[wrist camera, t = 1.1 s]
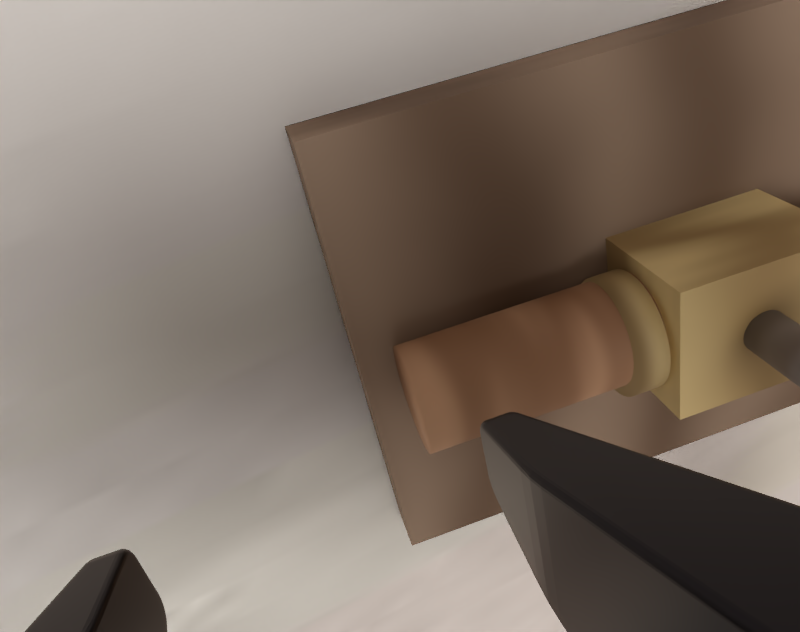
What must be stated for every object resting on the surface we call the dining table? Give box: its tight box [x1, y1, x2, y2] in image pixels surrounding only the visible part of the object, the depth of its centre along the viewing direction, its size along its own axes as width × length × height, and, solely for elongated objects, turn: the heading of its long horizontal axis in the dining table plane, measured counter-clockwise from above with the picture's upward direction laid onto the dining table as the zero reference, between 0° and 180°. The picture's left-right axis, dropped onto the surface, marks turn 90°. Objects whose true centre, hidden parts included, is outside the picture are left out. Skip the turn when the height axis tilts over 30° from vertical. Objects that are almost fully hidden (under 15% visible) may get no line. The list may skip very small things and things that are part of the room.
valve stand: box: [285, 0, 800, 545], centre depth 19 cm, size 20×14×8 cm
